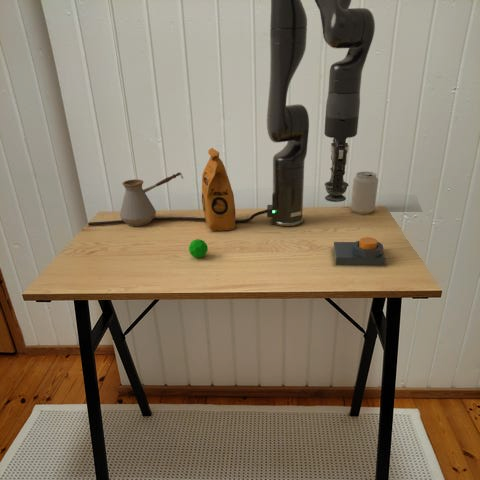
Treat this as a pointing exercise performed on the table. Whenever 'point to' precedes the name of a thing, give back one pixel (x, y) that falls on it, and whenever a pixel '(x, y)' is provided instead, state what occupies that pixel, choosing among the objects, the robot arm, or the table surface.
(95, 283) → the table surface
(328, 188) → the salt shaker
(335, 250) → the button box
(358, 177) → the can
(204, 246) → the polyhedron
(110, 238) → the table surface
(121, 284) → the table surface
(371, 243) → the button
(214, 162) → the coffee package
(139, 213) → the coffee pot
